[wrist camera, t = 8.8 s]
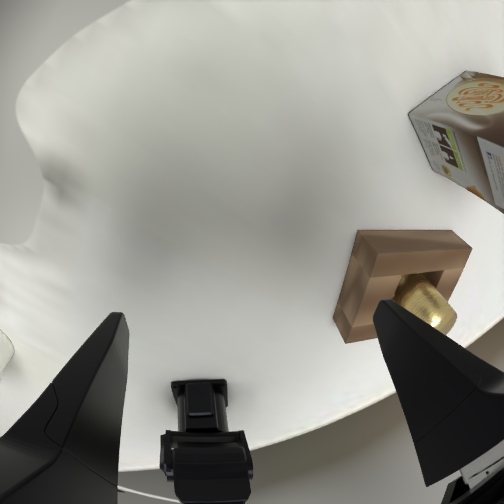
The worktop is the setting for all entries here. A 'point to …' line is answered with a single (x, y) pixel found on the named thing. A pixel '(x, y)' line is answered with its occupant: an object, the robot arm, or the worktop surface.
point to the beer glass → (5, 352)
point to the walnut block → (394, 272)
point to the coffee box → (466, 134)
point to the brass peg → (424, 301)
